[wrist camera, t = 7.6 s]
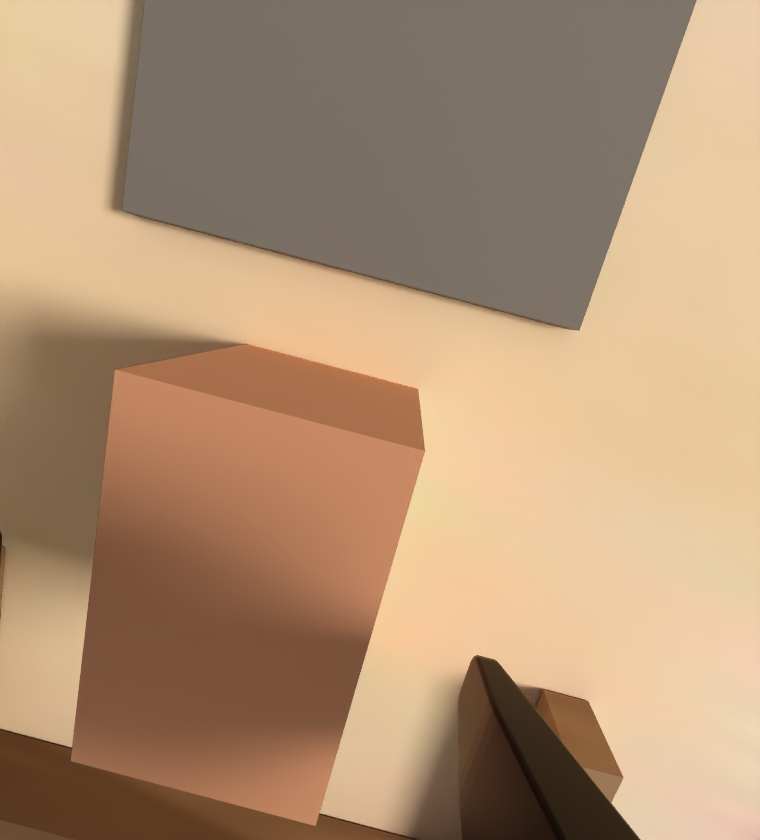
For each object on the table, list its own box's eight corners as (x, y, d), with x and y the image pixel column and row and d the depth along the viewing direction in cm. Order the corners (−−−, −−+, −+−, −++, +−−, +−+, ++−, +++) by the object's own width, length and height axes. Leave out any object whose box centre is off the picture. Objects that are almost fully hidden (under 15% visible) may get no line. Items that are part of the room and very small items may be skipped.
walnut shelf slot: (501, 894, 17) (517, 992, 15) (-48, 749, 17) (-124, 822, 15) (588, 701, 15) (623, 777, 12) (-41, 535, 15) (-129, 579, 12)
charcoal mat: (571, 329, 12) (579, 330, 12) (135, 215, 12) (121, 210, 12) (713, -75, 10) (731, -98, 10) (185, -212, 10) (171, -245, 10)
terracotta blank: (352, 624, 15) (315, 825, 9) (203, 585, 15) (70, 761, 9) (418, 388, 13) (424, 450, 7) (247, 343, 13) (114, 369, 7)
